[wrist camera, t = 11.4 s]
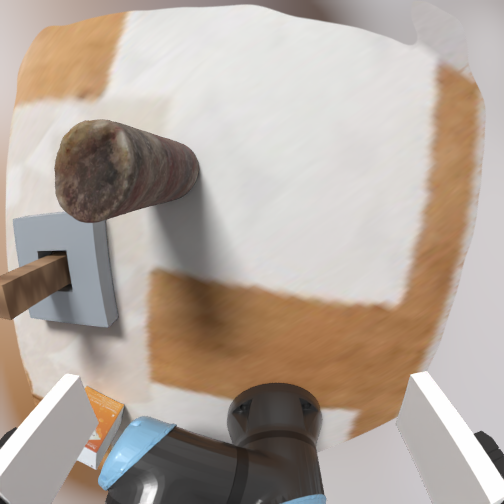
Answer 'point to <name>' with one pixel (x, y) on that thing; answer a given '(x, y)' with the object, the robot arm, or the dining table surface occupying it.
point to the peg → (32, 283)
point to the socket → (70, 267)
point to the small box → (101, 427)
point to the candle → (119, 170)
